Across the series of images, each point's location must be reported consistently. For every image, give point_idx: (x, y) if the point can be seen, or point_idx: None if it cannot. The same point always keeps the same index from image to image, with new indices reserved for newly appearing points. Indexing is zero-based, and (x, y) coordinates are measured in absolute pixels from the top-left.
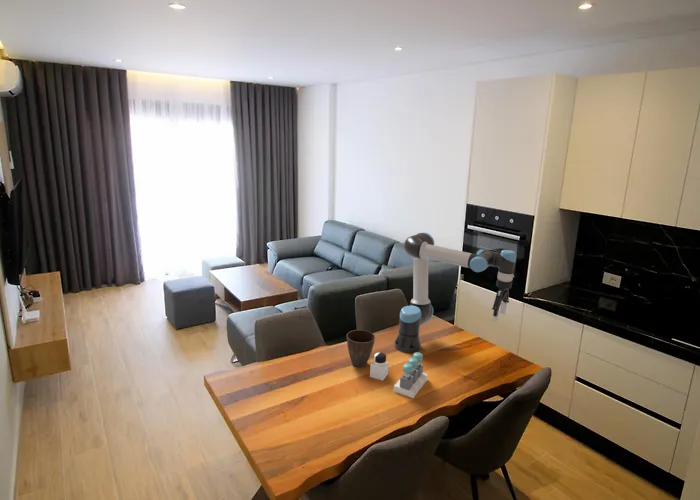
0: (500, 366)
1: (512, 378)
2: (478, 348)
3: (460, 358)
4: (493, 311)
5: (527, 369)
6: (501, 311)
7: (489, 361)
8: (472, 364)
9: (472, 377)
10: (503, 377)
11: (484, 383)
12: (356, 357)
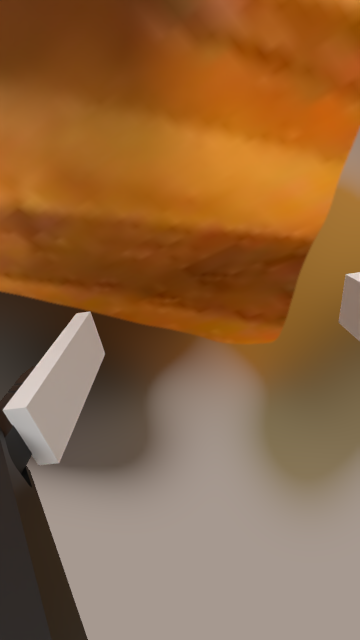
0: (192, 266)
1: (150, 323)
2: (276, 118)
3: (118, 109)
4: (23, 385)
5: (239, 330)
6: (357, 298)
7: (196, 220)
8: (119, 183)
9: (40, 235)
10: (133, 303)
11: (48, 281)
12: None
